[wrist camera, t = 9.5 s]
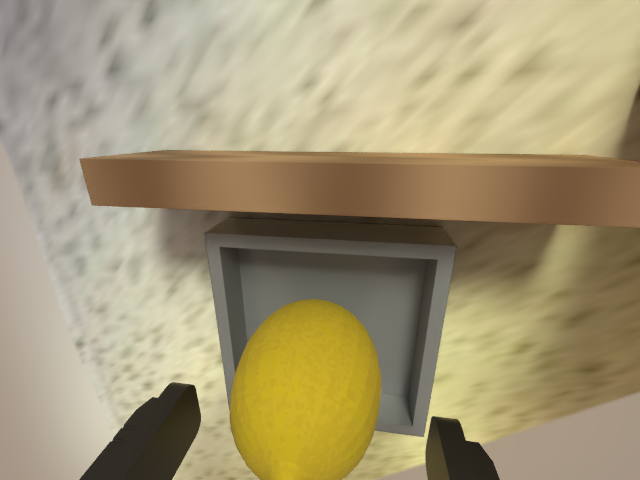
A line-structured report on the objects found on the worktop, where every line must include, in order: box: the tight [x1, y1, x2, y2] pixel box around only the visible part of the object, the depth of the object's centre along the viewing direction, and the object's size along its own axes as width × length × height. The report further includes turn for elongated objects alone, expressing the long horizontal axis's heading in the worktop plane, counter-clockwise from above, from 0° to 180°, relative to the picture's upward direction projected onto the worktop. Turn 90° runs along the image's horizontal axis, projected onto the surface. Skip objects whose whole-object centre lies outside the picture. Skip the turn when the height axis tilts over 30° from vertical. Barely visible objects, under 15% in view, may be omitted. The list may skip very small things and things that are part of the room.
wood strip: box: [80, 150, 640, 228], centre depth 11 cm, size 18×2×4 cm, turn 90°
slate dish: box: [204, 218, 457, 437], centre depth 15 cm, size 10×10×2 cm
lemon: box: [230, 299, 381, 480], centre depth 12 cm, size 6×6×8 cm
